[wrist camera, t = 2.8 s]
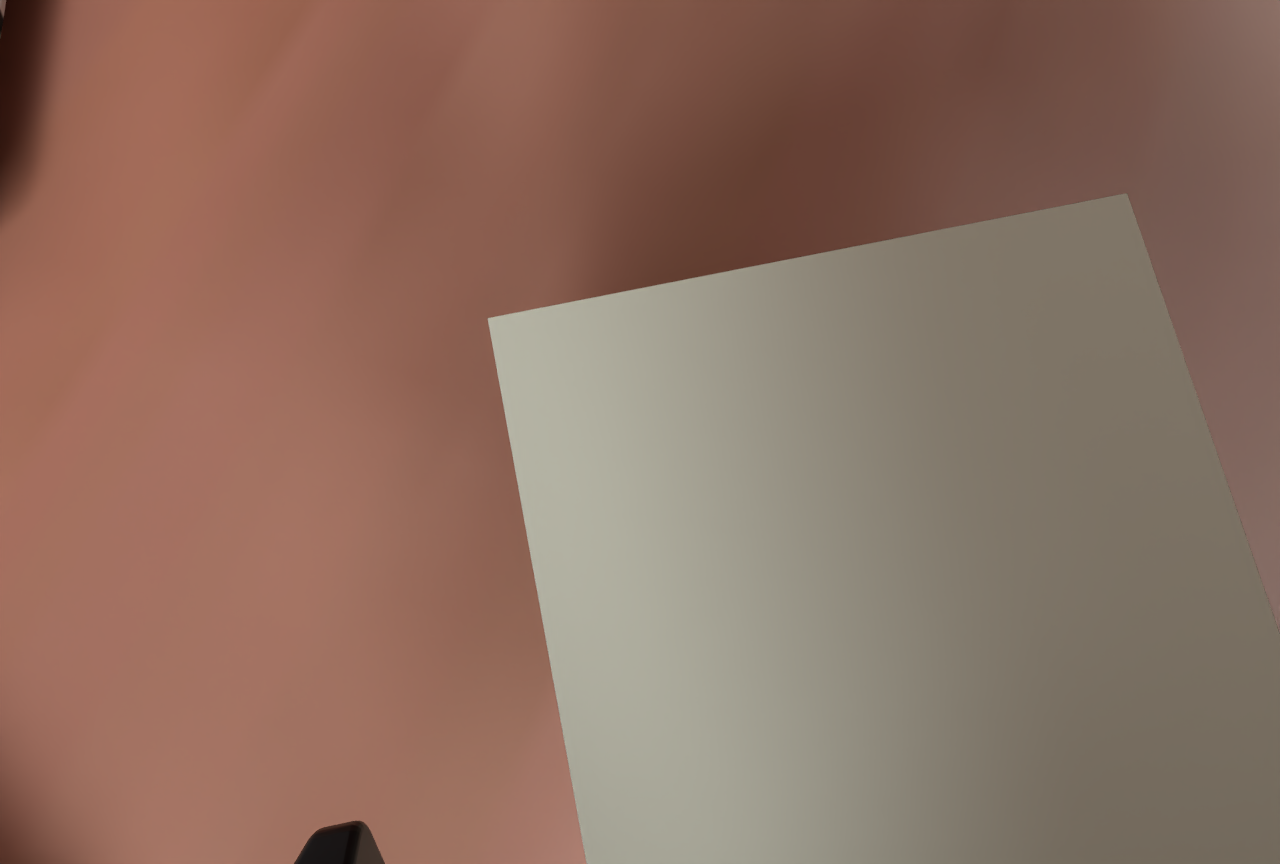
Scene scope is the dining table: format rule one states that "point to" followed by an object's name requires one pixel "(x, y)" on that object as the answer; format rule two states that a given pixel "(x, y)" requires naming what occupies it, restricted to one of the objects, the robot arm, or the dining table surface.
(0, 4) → the plate
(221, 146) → the dining table surface
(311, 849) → the robot arm
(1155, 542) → the sage block
